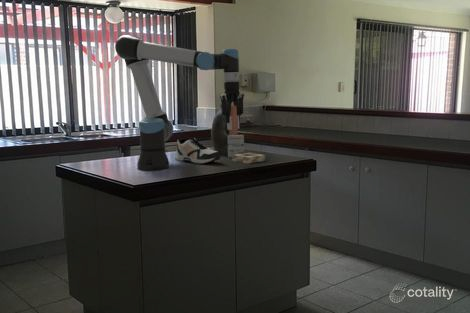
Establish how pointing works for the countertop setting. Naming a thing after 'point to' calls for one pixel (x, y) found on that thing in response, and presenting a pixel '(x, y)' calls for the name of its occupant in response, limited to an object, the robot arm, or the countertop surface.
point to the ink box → (235, 145)
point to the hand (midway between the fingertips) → (233, 128)
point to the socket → (248, 157)
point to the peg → (233, 120)
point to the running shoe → (195, 152)
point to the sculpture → (220, 133)
